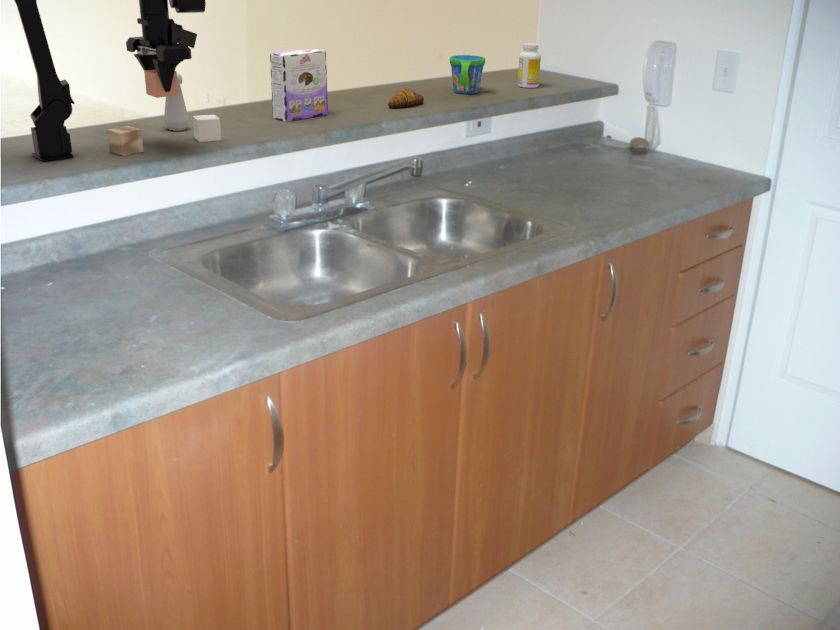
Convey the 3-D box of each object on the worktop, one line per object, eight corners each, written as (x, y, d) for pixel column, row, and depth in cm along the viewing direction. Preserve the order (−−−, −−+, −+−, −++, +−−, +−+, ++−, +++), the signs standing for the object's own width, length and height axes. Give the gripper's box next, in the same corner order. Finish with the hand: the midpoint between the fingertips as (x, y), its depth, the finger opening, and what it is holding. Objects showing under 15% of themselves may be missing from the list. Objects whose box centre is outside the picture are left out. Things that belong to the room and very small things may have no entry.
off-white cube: (199, 142, 200) (197, 120, 198) (194, 137, 204) (192, 116, 202) (221, 140, 202) (219, 118, 200) (215, 135, 206) (214, 114, 204)
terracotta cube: (157, 97, 187) (154, 73, 185) (146, 94, 191) (144, 70, 189) (178, 95, 190) (176, 71, 188) (167, 91, 194) (165, 68, 192)
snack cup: (478, 98, 256) (480, 62, 252) (443, 95, 259) (444, 60, 255) (488, 89, 270) (489, 54, 266) (454, 87, 273) (455, 53, 268)
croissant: (413, 101, 251) (413, 83, 249) (431, 104, 247) (431, 86, 245) (380, 107, 241) (380, 89, 239) (398, 111, 237) (398, 92, 235)
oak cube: (123, 156, 187) (120, 133, 185) (110, 152, 190) (107, 129, 188) (143, 152, 191) (141, 129, 189) (130, 148, 194) (127, 125, 192)
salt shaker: (175, 133, 208) (169, 76, 203) (159, 129, 211) (154, 73, 206) (194, 129, 212) (190, 73, 207) (179, 125, 215) (174, 70, 210)
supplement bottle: (542, 86, 277) (545, 44, 271) (533, 89, 271) (536, 46, 266) (523, 84, 280) (525, 42, 275) (513, 87, 275) (516, 44, 269)
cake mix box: (314, 111, 234) (312, 47, 227) (328, 115, 230) (327, 50, 223) (271, 118, 225) (268, 51, 218) (285, 122, 221) (282, 54, 214)
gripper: (211, 15, 182) (217, 92, 189) (169, 8, 195) (176, 80, 201) (161, 18, 176) (168, 98, 182) (121, 10, 188) (129, 85, 195)
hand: (162, 89), depth 190 cm, fingers closed on terracotta cube, 5 cm apart
